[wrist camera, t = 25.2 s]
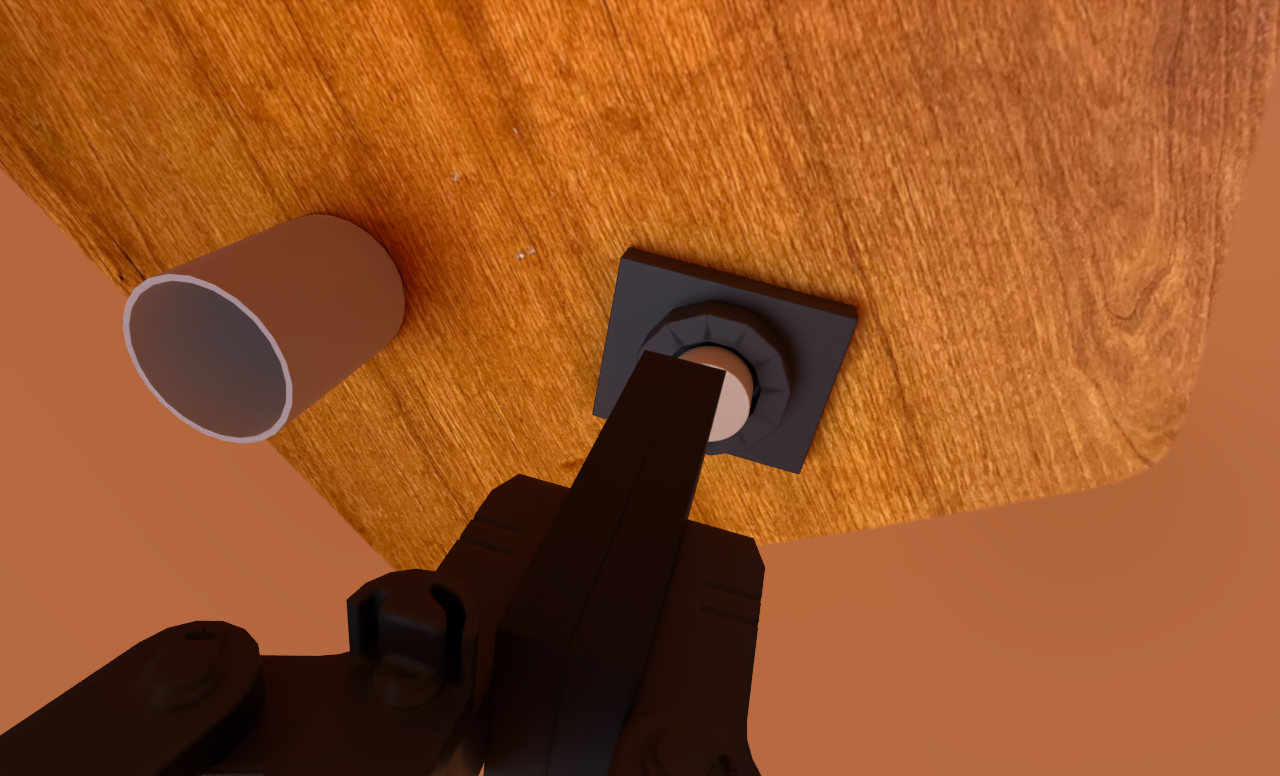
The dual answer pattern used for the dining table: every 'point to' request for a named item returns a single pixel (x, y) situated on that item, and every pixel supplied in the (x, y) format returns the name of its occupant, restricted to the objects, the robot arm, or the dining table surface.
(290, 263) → the cup
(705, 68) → the dining table surface
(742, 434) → the box
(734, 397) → the button
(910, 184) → the dining table surface
